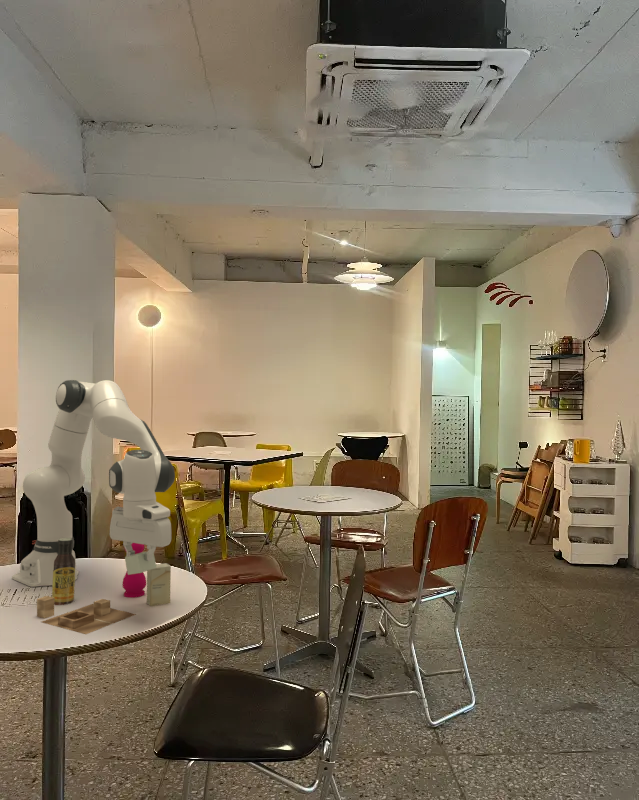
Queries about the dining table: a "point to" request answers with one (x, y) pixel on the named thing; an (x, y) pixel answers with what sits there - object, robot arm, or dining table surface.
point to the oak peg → (45, 607)
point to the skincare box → (158, 585)
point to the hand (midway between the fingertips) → (139, 558)
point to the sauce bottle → (64, 573)
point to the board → (89, 617)
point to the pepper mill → (134, 578)
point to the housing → (139, 563)
